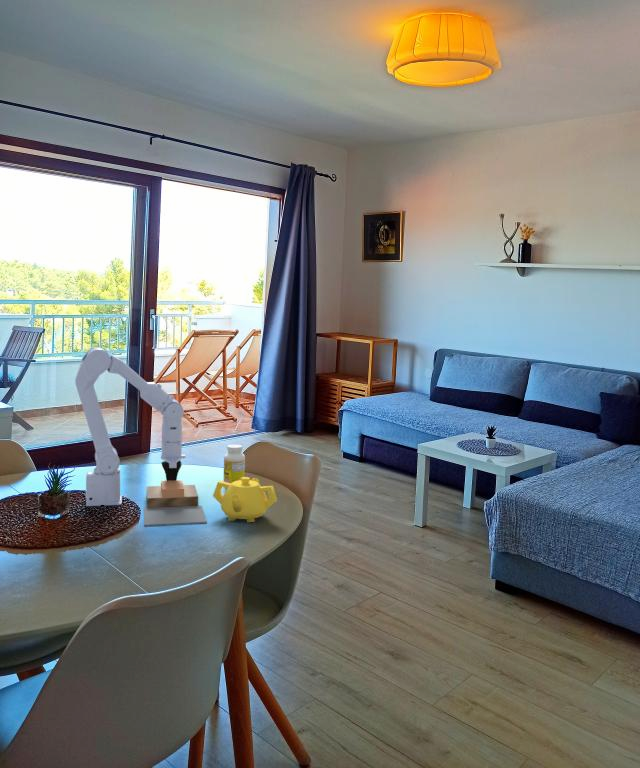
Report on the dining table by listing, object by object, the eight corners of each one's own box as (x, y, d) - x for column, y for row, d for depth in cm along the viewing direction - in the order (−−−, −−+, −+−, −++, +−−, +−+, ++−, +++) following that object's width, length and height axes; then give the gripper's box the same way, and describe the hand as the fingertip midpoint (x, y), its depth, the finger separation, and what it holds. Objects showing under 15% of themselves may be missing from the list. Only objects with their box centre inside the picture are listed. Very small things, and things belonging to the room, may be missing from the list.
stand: (147, 508, 193) (147, 498, 193) (146, 496, 205) (146, 486, 204) (198, 506, 197) (198, 496, 196) (194, 494, 208) (194, 484, 208)
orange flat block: (162, 498, 193) (162, 489, 193) (160, 489, 202) (161, 480, 202) (184, 497, 195) (184, 488, 195) (181, 488, 204) (181, 480, 203)
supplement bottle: (221, 483, 221) (222, 443, 220) (242, 482, 223) (243, 443, 222) (225, 489, 215) (226, 448, 213) (246, 488, 217) (247, 447, 215)
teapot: (265, 533, 178) (266, 490, 176) (199, 525, 181) (200, 484, 180) (285, 509, 197) (286, 471, 196) (225, 503, 200) (226, 466, 199)
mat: (144, 526, 179) (144, 524, 179) (143, 509, 192) (143, 508, 192) (206, 523, 183) (206, 521, 183) (201, 507, 197) (201, 505, 197)
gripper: (187, 445, 196) (187, 492, 198) (183, 435, 210) (183, 478, 212) (162, 446, 194) (161, 493, 196) (159, 435, 208) (159, 479, 210)
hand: (171, 486), depth 204 cm, fingers closed
